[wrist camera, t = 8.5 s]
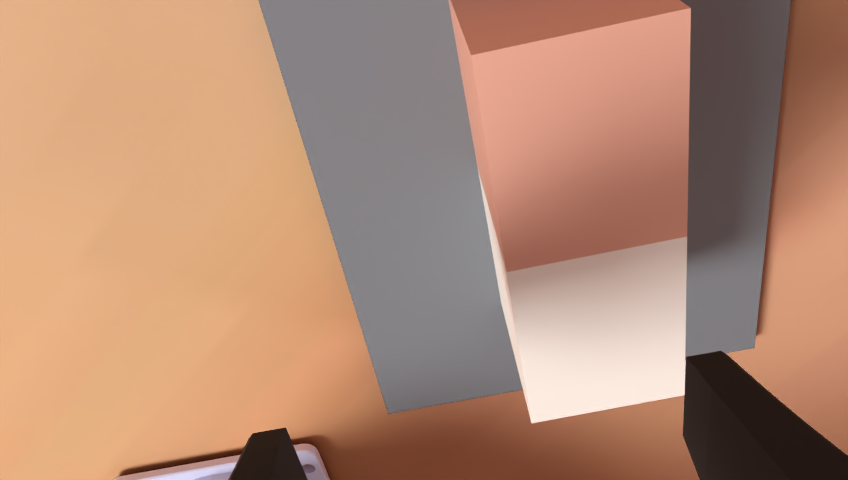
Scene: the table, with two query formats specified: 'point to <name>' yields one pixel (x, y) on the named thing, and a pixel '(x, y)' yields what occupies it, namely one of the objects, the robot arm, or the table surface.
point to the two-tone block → (584, 190)
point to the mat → (461, 190)
